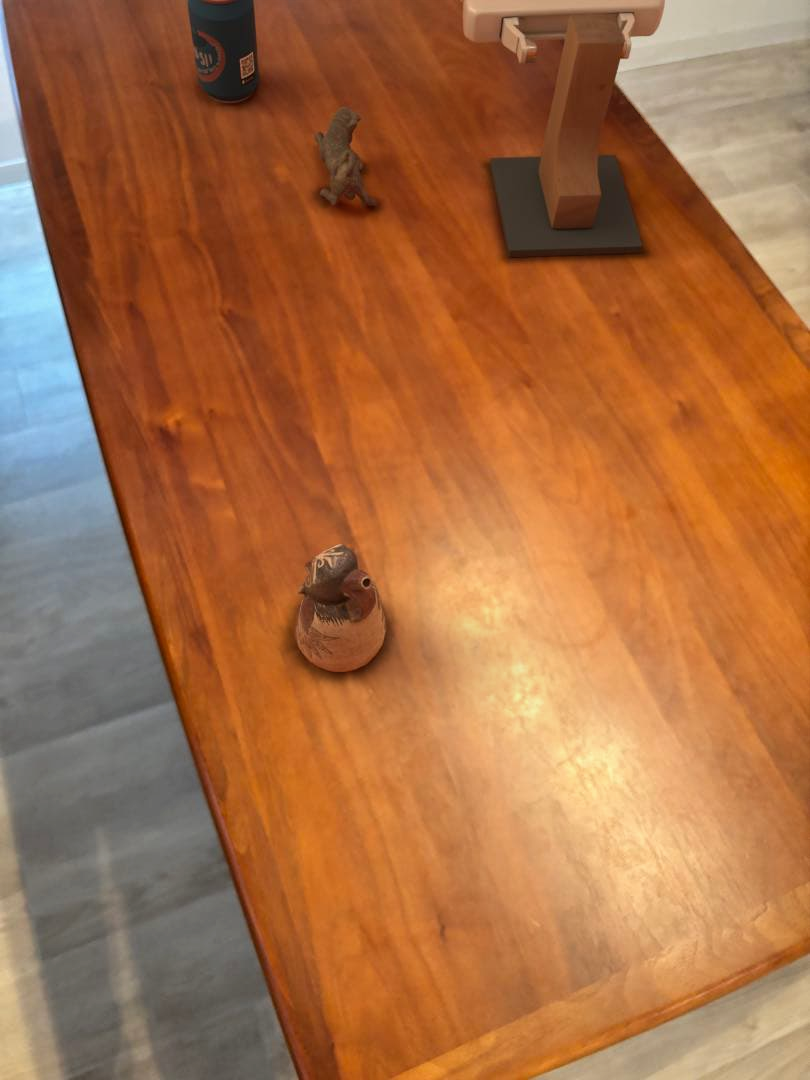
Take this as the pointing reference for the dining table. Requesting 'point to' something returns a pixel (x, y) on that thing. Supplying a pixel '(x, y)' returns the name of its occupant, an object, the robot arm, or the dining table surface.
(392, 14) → the dining table surface
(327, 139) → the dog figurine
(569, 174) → the wooden block
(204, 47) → the soda can
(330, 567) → the figurine
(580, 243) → the mat
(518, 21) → the robot arm
